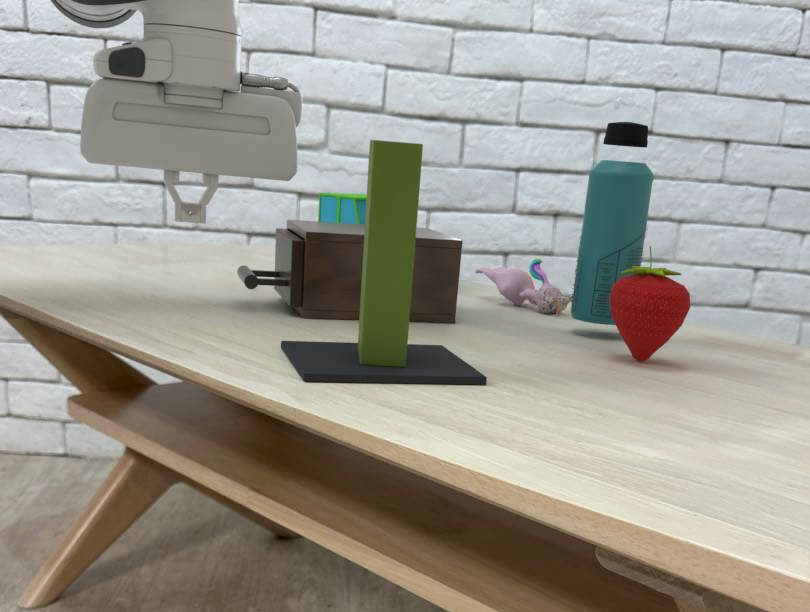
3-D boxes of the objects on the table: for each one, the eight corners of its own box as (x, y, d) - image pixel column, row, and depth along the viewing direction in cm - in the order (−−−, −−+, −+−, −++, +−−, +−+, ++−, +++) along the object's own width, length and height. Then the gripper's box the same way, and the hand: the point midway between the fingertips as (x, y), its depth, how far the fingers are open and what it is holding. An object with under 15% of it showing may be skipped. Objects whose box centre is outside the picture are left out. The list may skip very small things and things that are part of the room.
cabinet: (302, 318, 97) (305, 231, 94) (284, 297, 108) (286, 219, 105) (455, 323, 101) (462, 240, 98) (422, 302, 112) (428, 228, 109)
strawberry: (654, 373, 85) (674, 252, 81) (585, 355, 90) (602, 240, 86) (693, 367, 89) (715, 251, 85) (626, 351, 94) (643, 240, 90)
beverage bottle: (617, 343, 97) (651, 122, 90) (555, 332, 100) (583, 117, 93) (640, 335, 102) (674, 126, 95) (580, 325, 106) (608, 122, 98)
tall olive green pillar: (360, 364, 76) (373, 139, 70) (357, 349, 82) (370, 139, 76) (405, 367, 76) (423, 144, 70) (400, 352, 82) (415, 143, 76)
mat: (303, 381, 72) (304, 373, 72) (280, 347, 83) (280, 340, 83) (486, 384, 76) (487, 377, 76) (441, 351, 86) (442, 345, 86)
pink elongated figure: (582, 326, 113) (495, 285, 123) (596, 275, 111) (506, 236, 120) (544, 329, 110) (457, 286, 119) (557, 276, 107) (468, 236, 116)
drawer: (246, 305, 96) (247, 237, 93) (234, 287, 106) (235, 226, 104) (432, 312, 101) (438, 248, 98) (404, 294, 111) (408, 235, 108)
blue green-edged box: (385, 291, 118) (391, 203, 114) (309, 275, 126) (313, 192, 123) (441, 287, 125) (448, 204, 122) (366, 273, 133) (371, 194, 130)
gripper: (298, 80, 98) (290, 227, 103) (79, 54, 92) (83, 211, 97) (309, 78, 92) (300, 233, 97) (77, 51, 87) (80, 217, 92)
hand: (190, 222), depth 97 cm, fingers closed
